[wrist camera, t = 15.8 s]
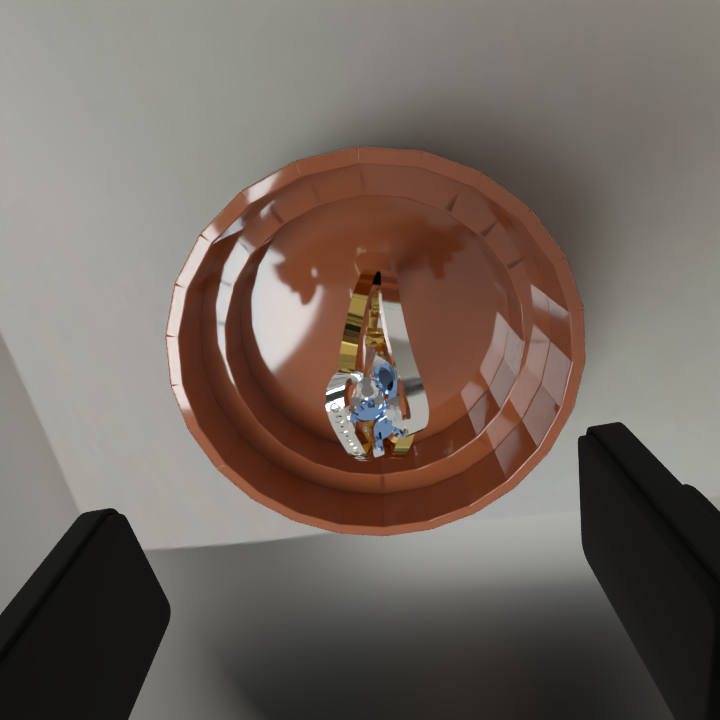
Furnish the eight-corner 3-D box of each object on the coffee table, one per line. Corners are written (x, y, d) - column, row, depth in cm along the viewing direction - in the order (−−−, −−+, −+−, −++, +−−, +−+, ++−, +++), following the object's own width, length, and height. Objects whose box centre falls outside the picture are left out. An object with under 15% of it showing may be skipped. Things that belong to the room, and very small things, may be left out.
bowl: (262, 486, 26) (238, 558, 21) (162, 195, 20) (98, 205, 15) (549, 440, 24) (591, 507, 19) (526, 112, 18) (577, 95, 14)
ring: (346, 249, 20) (330, 299, 13) (422, 256, 20) (451, 310, 13) (335, 397, 23) (316, 510, 15) (402, 403, 23) (416, 519, 15)
